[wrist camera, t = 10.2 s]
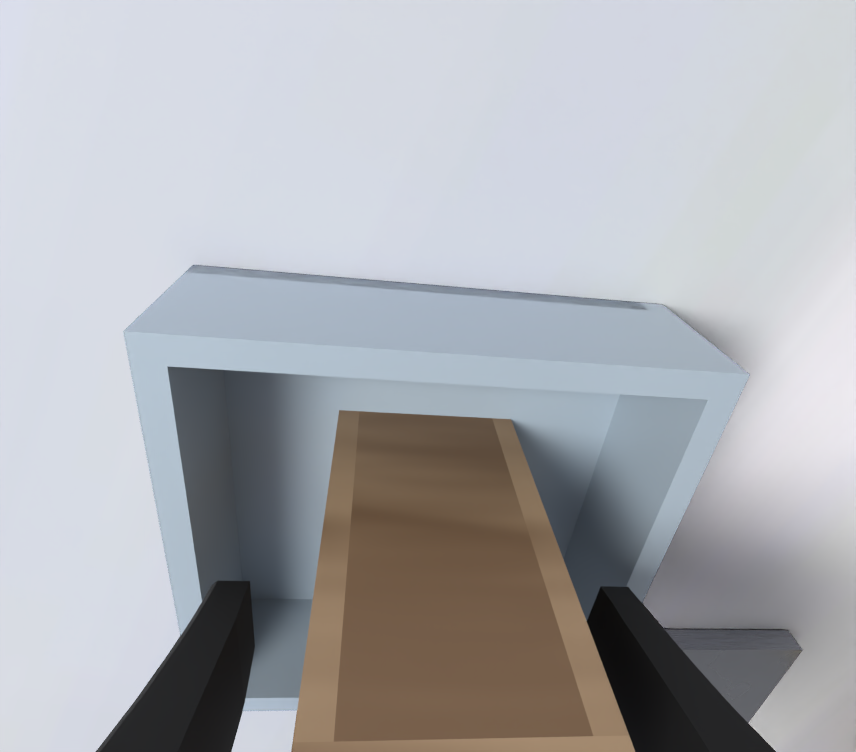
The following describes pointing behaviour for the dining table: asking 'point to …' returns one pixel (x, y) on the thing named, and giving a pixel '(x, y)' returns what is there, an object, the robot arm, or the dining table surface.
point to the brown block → (445, 602)
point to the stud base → (740, 662)
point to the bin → (409, 394)
